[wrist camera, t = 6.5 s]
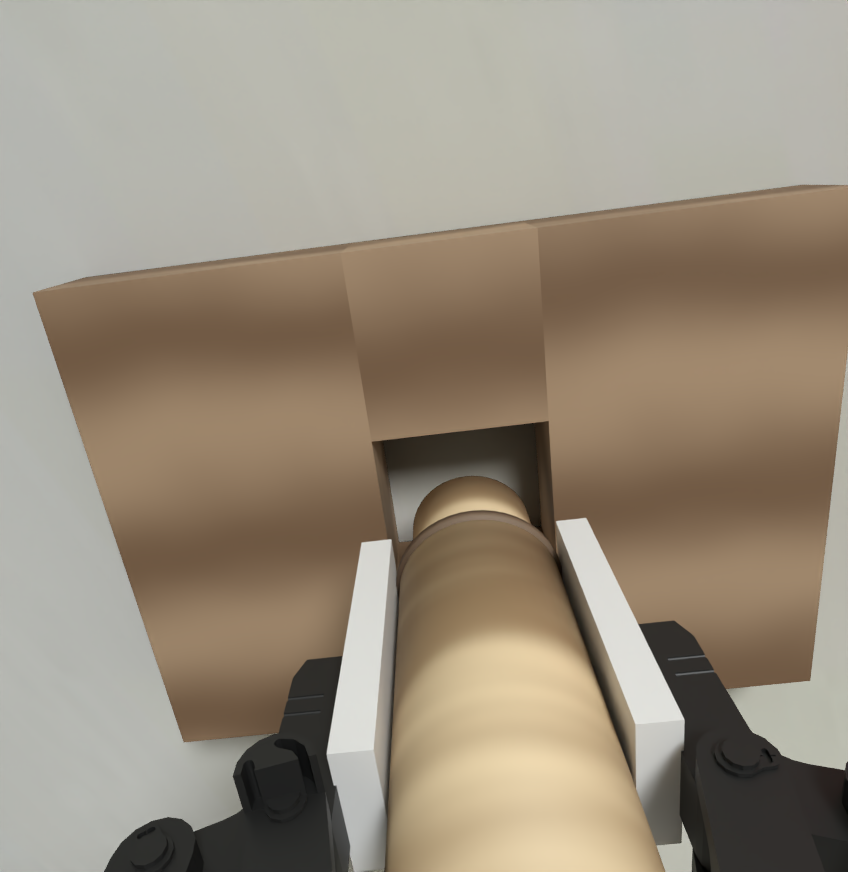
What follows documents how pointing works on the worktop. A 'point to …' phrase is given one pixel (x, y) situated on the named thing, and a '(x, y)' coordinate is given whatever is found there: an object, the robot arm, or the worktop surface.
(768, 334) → the walnut board
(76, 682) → the worktop surface
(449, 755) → the oak peg
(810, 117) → the worktop surface
